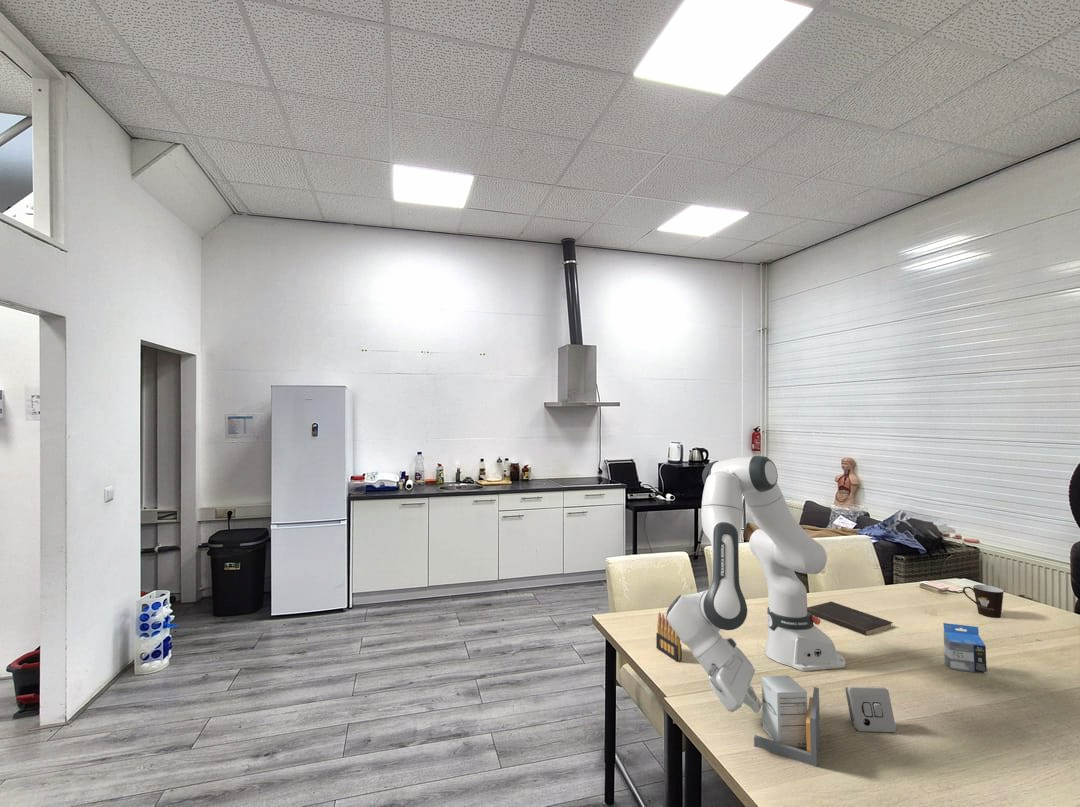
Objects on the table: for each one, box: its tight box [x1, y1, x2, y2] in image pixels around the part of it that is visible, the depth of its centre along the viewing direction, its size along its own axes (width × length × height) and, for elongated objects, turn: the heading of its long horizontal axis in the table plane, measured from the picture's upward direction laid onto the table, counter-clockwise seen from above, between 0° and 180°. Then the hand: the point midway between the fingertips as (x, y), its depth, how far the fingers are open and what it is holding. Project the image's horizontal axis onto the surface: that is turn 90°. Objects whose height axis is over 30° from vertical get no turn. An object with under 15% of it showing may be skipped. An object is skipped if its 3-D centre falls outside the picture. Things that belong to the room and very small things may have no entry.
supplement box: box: [761, 675, 808, 748], centre depth 113 cm, size 7×7×13 cm
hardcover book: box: [807, 601, 893, 636], centre depth 180 cm, size 16×23×2 cm
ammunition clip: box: [656, 611, 683, 663], centre depth 154 cm, size 11×2×12 cm, turn 24°
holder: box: [753, 686, 821, 768], centre depth 112 cm, size 12×14×10 cm
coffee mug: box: [962, 584, 1004, 619], centre depth 185 cm, size 12×9×10 cm
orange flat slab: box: [806, 696, 813, 753], centre depth 110 cm, size 1×12×7 cm, turn 147°
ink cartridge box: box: [943, 622, 988, 675], centre depth 143 cm, size 9×4×12 cm, turn 70°
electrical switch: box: [844, 686, 897, 733], centre depth 117 cm, size 9×5×9 cm, turn 86°
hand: (759, 708), depth 116 cm, fingers closed
